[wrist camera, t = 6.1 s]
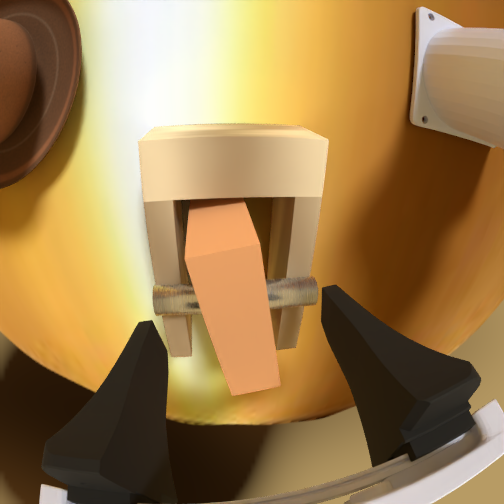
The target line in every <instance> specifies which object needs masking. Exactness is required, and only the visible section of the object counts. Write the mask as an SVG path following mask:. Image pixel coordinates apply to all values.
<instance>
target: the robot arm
mask: <svg viewBox="0 0 504 504" xmlns="http://www.w3.org/2000/svg"><path fill="white" fill-rule="evenodd" d="M428 15H429V16H430V18H431V19H429V17H428ZM423 116H424V121H423V122H422V117H423ZM410 121H411V123H412V124H414V125H416V126H420V127H424V128H428V129H432V130H436V131H440V132H444V133H448V134H451V135H455V136H458V137H462V138H465V139H468V140H472V141H475V142H478V143H481V144H484V145H487V146H490V147H493V148H495V147H496V146H498V147H500V148H502V149H504V29H494V28H463V27H462V26H460V25H458V24H456V23H454V22H453V21H451V20H449V19H447V18H445V17H443V16H441V15H439V14H437V13H435V12H433V11H431V10H429V9H427V8H425V7H419V8H417V9H416V41H415V64H414V78H413V90H412V100H411V109H410ZM321 323H322V326H323V329H324V332H325V334H326V337H327V340H328V343H329V345H330V347H331V349H332V351H333V353H334V355H335V357H336V359H337V361H338V363H339V365H340V367H341V369H342V371H343V373H344V375H345V377H346V380H347V382H348V384H349V386H350V389H351V392H352V394H353V397H354V400H355V403H356V406H357V409H358V412H359V416H360V419H361V422H362V426H363V430H364V433H365V437H366V441H367V445H368V449H369V453H370V458H371V462H372V467H373V468H370V469H368V470H365V471H362V472H359V473H356V474H353V475H350V476H347V477H344V478H341V479H338V480H335V481H331V482H328V483H324V484H321V485H317V486H313V487H309V488H305V489H301V490H297V491H292V492H288V493H283V494H277V495H272V496H266V497H260V498H253V499H246V500H238V501H229V502H219V503H204V504H317V503H320V502H324V501H328V500H331V499H335V498H338V497H341V496H344V495H347V494H350V493H353V492H356V491H359V490H362V489H365V488H367V487H370V486H372V487H370V488H368V489H366V490H363V491H361V492H358V493H356V494H354V495H351V497H350V500H348V501H346V502H345V503H344V504H432V503H433V502H435V501H437V500H439V499H440V498H442V497H444V496H445V495H447V494H448V493H450V492H452V491H453V490H455V489H456V488H458V487H460V486H461V485H463V484H464V483H466V482H467V481H469V480H470V479H471V478H473V477H474V476H476V475H477V474H478V473H480V472H481V471H483V470H484V469H485V468H486V467H488V466H489V465H490V464H492V463H493V462H494V461H496V460H497V459H498V458H499V457H501V456H502V455H503V454H504V412H503V411H502V409H501V407H500V405H499V404H498V402H497V401H496V399H493V400H492V401H490V402H489V403H487V404H486V405H484V406H483V407H481V408H480V409H478V410H477V411H476V412H475V413H473V414H472V415H471V414H470V412H469V409H470V408H471V405H470V404H469V402H468V400H469V399H470V397H471V396H472V395H473V393H474V392H475V391H476V390H477V388H478V387H479V385H480V382H481V378H480V376H479V374H478V373H477V372H476V370H475V369H474V367H473V366H472V364H471V363H470V362H468V361H465V360H461V359H458V358H454V357H450V356H448V355H445V354H442V353H439V352H437V351H434V350H432V349H429V348H427V347H425V346H423V345H421V344H419V343H417V342H414V341H413V340H411V339H409V338H407V337H405V336H403V335H402V334H400V333H398V332H397V331H395V330H393V329H392V328H390V327H389V326H387V325H386V324H384V323H383V322H382V321H380V320H379V319H377V318H376V317H375V316H373V315H372V314H371V313H370V312H368V311H367V310H366V309H364V308H363V307H362V306H361V305H359V304H358V303H357V302H356V301H355V300H353V299H352V298H351V297H350V296H349V295H348V294H346V293H345V292H344V291H343V290H342V289H341V288H339V287H338V286H337V285H331V286H327V287H323V288H322V312H321ZM167 388H168V353H167V349H166V347H165V345H164V343H163V341H162V339H161V337H160V335H159V333H158V331H157V329H156V327H155V325H154V323H153V321H152V320H150V321H143V322H139V323H138V325H137V326H136V328H135V330H134V332H133V333H132V335H131V337H130V339H129V341H128V342H127V344H126V346H125V348H124V350H123V351H122V353H121V355H120V356H119V358H118V360H117V362H116V363H115V365H114V367H113V368H112V370H111V371H110V373H109V374H108V376H107V378H106V379H105V381H104V382H103V383H102V385H101V386H100V388H99V389H98V390H97V392H96V393H95V394H94V396H93V397H92V398H91V399H90V400H89V401H88V403H87V404H86V405H85V406H84V407H83V408H82V410H81V411H80V412H79V413H78V414H77V415H76V416H75V417H74V418H73V419H72V420H71V421H70V422H69V423H68V424H66V425H65V426H64V427H63V428H62V429H61V430H60V431H58V432H57V433H56V434H55V435H54V436H52V437H51V438H50V439H48V440H47V441H46V444H45V449H44V454H43V460H42V466H41V467H42V469H43V470H44V471H45V472H46V473H47V474H49V475H50V476H52V477H54V478H56V479H58V480H59V481H61V482H63V483H65V484H67V485H68V491H67V490H64V489H61V488H57V487H53V486H49V485H45V484H42V485H41V493H40V503H39V504H176V503H177V502H178V499H177V496H176V491H175V487H174V482H173V477H172V471H171V466H170V459H169V451H168V443H167V432H166V404H167ZM378 483H379V484H378ZM375 484H377V485H375ZM373 485H374V486H373Z"/></svg>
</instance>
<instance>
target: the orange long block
mask: <svg viewBox="0 0 504 504" xmlns="http://www.w3.org/2000/svg"><path fill="white" fill-rule="evenodd" d="M185 262H186V265H187V269H188V272H189V275H190V278H191V281H192V284H193V288H194V291H195V294H196V297H197V300H198V303H199V306H200V309H201V312H202V315H203V318H204V321H205V324H206V326H207V329H208V332H209V335H210V338H211V341H212V343H213V346H214V349H215V352H216V354H217V357H218V360H219V363H220V365H221V368H222V371H223V373H224V376H225V378H226V381H227V384H228V386H229V389H230V391H231V394H232V396H235V395H240V394H245V393H251V392H256V391H261V390H265V389H270V388H275V387H279V386H281V384H280V377H279V370H278V363H277V356H276V349H275V342H274V335H273V328H272V321H271V314H270V307H269V300H268V294H267V287H266V280H265V273H264V267H263V260H262V253H261V247H260V242H259V239H258V237H257V234H256V231H255V228H254V226H253V223H252V220H251V217H250V215H249V212H248V209H247V206H246V204H245V201H244V198H243V197H240V198H209V199H190V205H189V215H188V225H187V235H186V247H185Z"/></svg>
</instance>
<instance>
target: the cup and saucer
mask: <svg viewBox="0 0 504 504" xmlns="http://www.w3.org/2000/svg"><path fill="white" fill-rule="evenodd" d="M81 57H82V46H81V35H80V28H79V24H78V20H77V18H76V15H75V12H74V10H73V8H72V7H71V5H70V3H69V2H68V0H0V189H1V188H4V187H7V186H10V185H12V184H14V183H16V182H18V181H19V180H21V179H22V178H24V177H25V176H26V175H27V174H29V173H30V172H31V171H32V170H33V169H34V168H35V167H36V166H37V165H38V164H39V163H40V162H41V160H42V159H43V158H44V157H45V156H46V154H47V153H48V152H49V150H50V149H51V148H52V146H53V144H54V143H55V141H56V140H57V138H58V136H59V134H60V133H61V131H62V129H63V127H64V125H65V122H66V120H67V118H68V115H69V113H70V110H71V108H72V105H73V101H74V98H75V95H76V91H77V87H78V82H79V76H80V69H81Z"/></svg>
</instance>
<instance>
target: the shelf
mask: <svg viewBox="0 0 504 504" xmlns="http://www.w3.org/2000/svg"><path fill="white" fill-rule="evenodd" d="M328 143H329V140H328V139H326V138H324V137H322V136H320V135H318V134H316V133H314V132H312V131H310V130H308V129H306V128H303V127H301V126H296V125H276V124H195V125H175V126H161V127H154V128H153V129H152V130H151V131H149V132H148V133H147V134H146V135H145V136H144V137H143V138H141V139H140V140H139V141H138V144H139V158H140V170H141V181H142V191H143V200H144V209H145V217H146V224H147V232H148V239H149V246H150V252H151V258H152V264H153V270H154V276H155V282H156V285H154V287H153V307H154V312H155V315H156V316H159V315H162V317H163V322H164V327H165V331H166V336H167V340H168V344H169V348H170V353H171V357H189V356H192V314H202V312H201V309H200V306H199V303H198V300H197V297H196V294H195V291H194V288H193V284H188V275H187V265H186V262H185V243H184V231H183V218H182V203H181V200H186V199H209V198H240V197H273V201H272V215H271V229H270V243H269V256H268V269H267V279H265V280H266V287H267V294H268V300H269V307H270V314H271V321H272V328H273V335H274V342H275V346H276V350H281V349H289V348H296V345H297V340H298V335H299V330H300V325H301V320H302V315H303V310H304V306H311V305H315V304H316V303H317V300H318V287H317V282H316V280H315V278H314V277H313V276H310V272H311V266H312V260H313V254H314V248H315V241H316V235H317V228H318V222H319V215H320V208H321V201H322V193H323V186H324V178H325V170H326V161H327V152H328Z"/></svg>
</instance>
